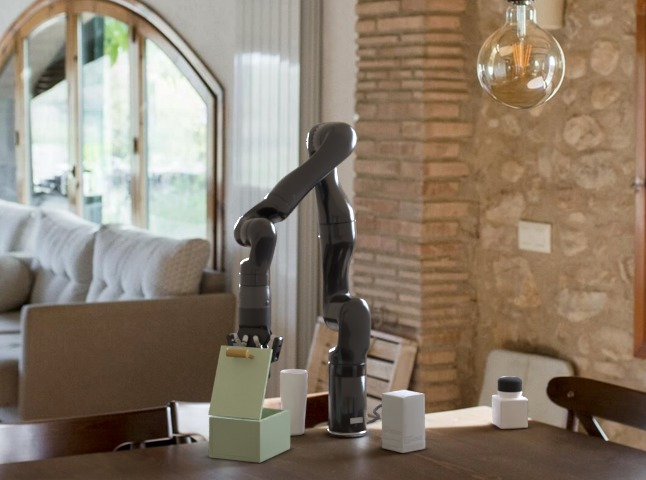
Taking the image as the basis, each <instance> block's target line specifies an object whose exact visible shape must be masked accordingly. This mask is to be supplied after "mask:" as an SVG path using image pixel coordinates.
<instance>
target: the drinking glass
mask: <svg viewBox="0 0 646 480" xmlns="http://www.w3.org/2000/svg"><path fill="white" fill-rule="evenodd" d="M308 376H309V375H308V371H307V370H306V369H300V368H289V369H287V368H286V369H283V370H280V371H279V398H280V409H288V410H290V437H291V436H292V437H293V436H294V437H296V436H301V435H303V434H305V430H306V413H307V401H308V389H309V388H308V386H309V385H308V384H309V377H308Z"/></svg>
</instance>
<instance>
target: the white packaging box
mask: <svg viewBox="0 0 646 480" xmlns="http://www.w3.org/2000/svg"><path fill="white" fill-rule="evenodd" d="M425 395H426V394H425V393H422V392H417V391H412V390H407V389H400V390H393V391H389V392H382V393H381V404H382V407H381V449H385V450H389V451H393V452H397V453H401V454H405V453H411V452H415V451H422V450H425V449H426V404H425V403H426V396H425Z"/></svg>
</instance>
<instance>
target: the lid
mask: <svg viewBox="0 0 646 480" xmlns="http://www.w3.org/2000/svg"><path fill="white" fill-rule="evenodd" d="M272 351H273V350H272V348H269V349H266V348H251V347H241V346H239V347H236V346H228V345H220V350H219V355H218V359H217V366H216V371H215V375H214V382H213V387H212V393H211V398H210V403H209V409H208V416H223V417H234V418H245V419H255V420H261V416H262V410H263V407H264V402H265V397H266V392H267V386H268V381H269V379H268V375H269V369H270V370H271V365H270V363H271V357H272ZM271 364H272V363H271ZM267 380H268V381H267Z"/></svg>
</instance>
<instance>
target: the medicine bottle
mask: <svg viewBox="0 0 646 480" xmlns="http://www.w3.org/2000/svg"><path fill="white" fill-rule="evenodd" d="M491 423H492V424H493V425H494V426H496V427H497V428H499V429H501V430H512V429H528V428H529V399H528V398H527V397H524V396H523V380H522V378H520V377H518V376H513V375H505V376H500V377H499V378H498V379H497V394H492V395H491Z"/></svg>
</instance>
